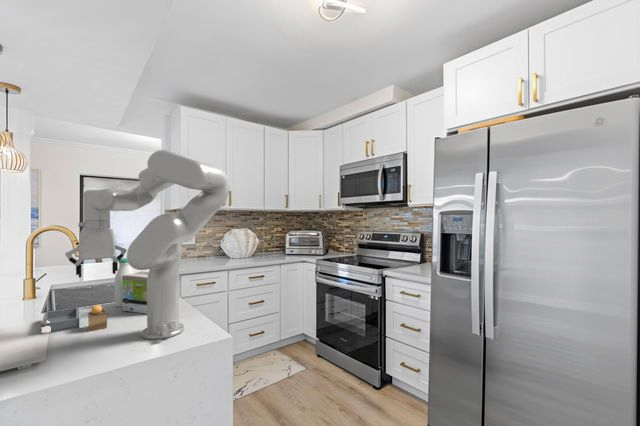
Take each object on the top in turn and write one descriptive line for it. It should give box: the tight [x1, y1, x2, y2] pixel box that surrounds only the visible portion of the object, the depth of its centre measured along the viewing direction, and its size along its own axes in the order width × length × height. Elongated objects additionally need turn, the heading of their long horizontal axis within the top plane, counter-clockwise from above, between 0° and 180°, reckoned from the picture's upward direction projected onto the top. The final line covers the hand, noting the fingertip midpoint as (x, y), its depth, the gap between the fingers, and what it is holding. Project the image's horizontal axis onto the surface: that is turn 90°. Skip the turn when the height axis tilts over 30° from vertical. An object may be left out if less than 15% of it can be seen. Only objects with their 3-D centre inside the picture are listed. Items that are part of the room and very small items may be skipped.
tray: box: [40, 306, 80, 334], centre depth 113 cm, size 17×10×3 cm, turn 38°
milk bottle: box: [114, 257, 135, 308], centre depth 137 cm, size 8×8×20 cm
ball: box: [90, 304, 103, 314], centre depth 109 cm, size 3×3×3 cm
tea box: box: [122, 270, 149, 315], centre depth 130 cm, size 15×10×15 cm, turn 73°
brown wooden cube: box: [87, 309, 108, 332], centre depth 109 cm, size 5×5×5 cm
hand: (97, 275), depth 109 cm, fingers open, 9 cm apart
